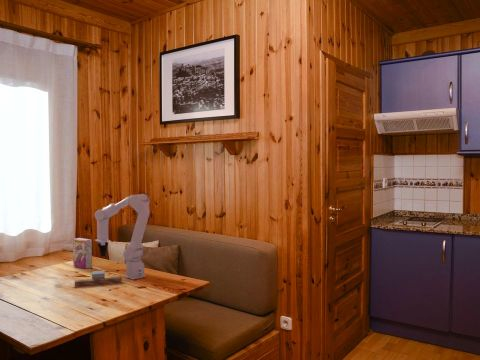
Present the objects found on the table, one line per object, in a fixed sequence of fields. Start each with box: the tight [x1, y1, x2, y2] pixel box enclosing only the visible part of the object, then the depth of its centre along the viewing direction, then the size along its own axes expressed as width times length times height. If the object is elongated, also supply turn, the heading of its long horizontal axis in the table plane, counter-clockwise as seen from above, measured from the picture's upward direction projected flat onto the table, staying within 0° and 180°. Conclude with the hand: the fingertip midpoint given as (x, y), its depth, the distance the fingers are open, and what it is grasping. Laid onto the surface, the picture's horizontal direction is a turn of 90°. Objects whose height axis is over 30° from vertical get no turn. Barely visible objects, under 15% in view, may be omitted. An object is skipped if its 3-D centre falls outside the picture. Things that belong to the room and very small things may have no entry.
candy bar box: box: [72, 237, 93, 270], centre depth 246 cm, size 11×5×16 cm, turn 58°
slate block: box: [91, 270, 106, 279], centre depth 215 cm, size 6×6×5 cm
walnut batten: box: [74, 276, 123, 288], centre depth 211 cm, size 22×3×2 cm, turn 108°
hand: (103, 256), depth 232 cm, fingers closed
